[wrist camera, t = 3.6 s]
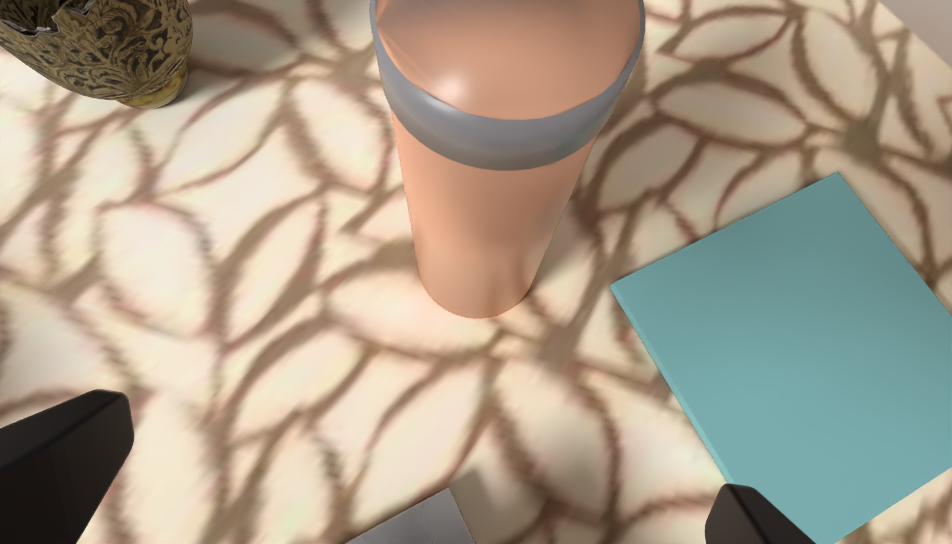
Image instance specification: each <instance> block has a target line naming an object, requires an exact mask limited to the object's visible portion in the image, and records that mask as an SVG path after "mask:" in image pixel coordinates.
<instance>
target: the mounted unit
mask: <svg viewBox="0 0 952 544" xmlns="http://www.w3.org/2000/svg"><path fill="white" fill-rule="evenodd" d="M344 544H475V543H474V541H473V539H472V536H471V534H470V532H469V530H468V528H467V526H466V523H465V521H464V519H463V517H462V515H461V513H460V510H459V508H458V506H457V504H456V502H455V499H454V497H453V495H452V493H451V491H450V489H449V487H448V488H446V489H444V490H442V491H440V492H438V493H436V494H435V495H433V496H431V497H429V498H427V499H425V500H423V501H422V502H420V503H418V504H416V505H414V506H412V507H411V508H409V509H407V510H405V511H403V512H401V513H399V514H398V515H396V516H394V517H392V518H390V519H388V520H386V521H385V522H383V523H381V524H379V525H377V526H375V527H374V528H372V529H370V530H368V531H366V532H364V533H362V534H361V535H359V536H357V537H355V538H353V539H351V540H349V541H348V542H346V543H344Z"/></svg>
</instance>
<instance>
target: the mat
mask: <svg viewBox="0 0 952 544" xmlns="http://www.w3.org/2000/svg"><path fill="white" fill-rule="evenodd" d="M610 289H611V291H612V292H613V294H614V296H615V297H616V299H617V301H618V302H619V304H620V306H621V307H622V309H623V311H624V312H625V314H626V316H627V317H628V319H629V321H630V322H631V324H632V326H633V327H634V329H635V330H636V332H637V334H638V335H639V337H640V339H641V340H642V342H643V344H644V345H645V347H646V349H647V350H648V352H649V354H650V355H651V357H652V359H653V360H654V362H655V364H656V365H657V367H658V369H659V370H660V372H661V373H662V375H663V377H664V378H665V380H666V382H667V383H668V385H669V387H670V388H671V390H672V392H673V393H674V395H675V397H676V398H677V400H678V402H679V403H680V405H681V407H682V408H683V410H684V412H685V413H686V415H687V416H688V418H689V420H690V421H691V423H692V425H693V426H694V428H695V430H696V431H697V433H698V435H699V436H700V438H701V440H702V441H703V443H704V445H705V446H706V448H707V450H708V451H709V453H710V455H711V456H712V458H713V460H714V461H715V463H716V464H717V466H718V468H719V469H720V471H721V473H722V474H723V476H724V478H725V479H726V481H727V483H731V484H738V485H745V486H750V487H753V488H755V489H756V490H757V491H759V492H760V493H761V494H762V495H763V496H764V497H765V498H766V499H767V500H769V501H770V502H771V503H772V504H773V505H774V506H775V507H776V508H777V509H779V510H780V511H781V512H782V513H783V514H784V515H785V516H786V517H787V518H788V519H790V520H791V521H792V522H793V523H794V524H795V525H796V526H797V527H798V528H800V529H801V530H802V531H803V532H804V533H805V534H806V535H807V536H808V537H810V538H811V539H812V540H813V541H814V542H815V543H816V544H834V543H836V542H837V541H839V540H840V539H842V538H843V537H845V536H846V535H848V534H849V533H851V532H852V531H854V530H855V529H857V528H859V527H860V526H862V525H863V524H865V523H866V522H868V521H869V520H871V519H872V518H874V517H875V516H877V515H878V514H880V513H881V512H883V511H885V510H886V509H888V508H889V507H891V506H892V505H894V504H895V503H897V502H898V501H900V500H901V499H903V498H904V497H906V496H908V495H909V494H911V493H912V492H914V491H915V490H917V489H918V488H920V487H921V486H923V485H924V484H926V483H927V482H929V481H930V480H932V479H934V478H935V477H937V476H938V475H940V474H941V473H943V472H944V471H946V470H947V469H949V468H950V467H952V316H951V315H950V314H949V312H948V311H947V310H946V308H945V307H944V306H943V305H942V303H941V302H940V301H939V300H938V298H937V297H936V296H935V294H934V293H933V292H932V291H931V289H930V288H929V287H928V286H927V284H926V283H925V282H924V281H923V279H922V278H921V277H920V275H919V274H918V273H917V272H916V270H915V269H914V268H913V267H912V265H911V264H910V263H909V261H908V260H907V259H906V258H905V256H904V255H903V254H902V253H901V251H900V250H899V249H898V247H897V246H896V245H895V244H894V242H893V241H892V240H891V239H890V237H889V236H888V235H887V233H886V232H885V231H884V230H883V228H882V227H881V226H880V225H879V223H878V222H877V221H876V220H875V218H874V217H873V216H872V214H871V213H870V212H869V211H868V209H867V208H866V207H865V206H864V204H863V203H862V202H861V200H860V199H859V198H858V197H857V195H856V194H855V193H854V192H853V190H852V189H851V188H850V186H849V185H848V184H847V183H846V181H845V180H844V179H843V178H842V176H841V175H840V174H839V172H836V173H834V174H832V175H830V176H828V177H826V178H824V179H822V180H820V181H818V182H816V183H814V184H812V185H810V186H808V187H806V188H804V189H802V190H800V191H798V192H796V193H794V194H792V195H790V196H788V197H785V198H783V199H781V200H779V201H777V202H775V203H773V204H771V205H769V206H767V207H765V208H763V209H761V210H759V211H757V212H755V213H753V214H751V215H749V216H747V217H745V218H743V219H741V220H739V221H737V222H735V223H733V224H731V225H729V226H727V227H725V228H723V229H721V230H719V231H717V232H715V233H713V234H711V235H709V236H707V237H705V238H703V239H701V240H699V241H697V242H695V243H693V244H691V245H689V246H687V247H685V248H683V249H681V250H679V251H677V252H675V253H673V254H671V255H669V256H666V257H664V258H662V259H660V260H658V261H656V262H654V263H652V264H650V265H648V266H646V267H644V268H642V269H640V270H638V271H636V272H634V273H632V274H630V275H628V276H626V277H624V278H622V279H620V280H618V281H616V282H614V283H613V284H612V285H611V286H610Z"/></svg>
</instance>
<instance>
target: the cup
mask: <svg viewBox="0 0 952 544" xmlns="http://www.w3.org/2000/svg"><path fill="white" fill-rule="evenodd" d="M192 35H193V32H192V18H191V13H190V8H189V4H188V1H187V0H0V46H1V47H3V48H4V49H6V50H7V51H8V52H10V53H11V54H12V55H14V56H15V57H16V58H18V59H19V60H20V61H22V62H23V63H25V64H26V65H28V66H29V67H30V68H32V69H33V70H35V71H36V72H38V73H39V74H41V75H42V76H44V77H46V78H47V79H49V80H50V81H52V82H54V83H56V84H58V85H60V86H62V87H64V88H66V89H68V90H70V91H73V92H75V93H78V94H81V95H84V96H87V97H92V98H98V99H105V100H116V101H118V102H120V103H122V104H124V105H127V106H130V107H133V108H137V109H153V108H158V107H161V106H164V105H166V104H168V103H170V102H171V101H173V100H174V99H175V98H176V97H177V96H178V95H179V94H180V93H181V92H182V90H183V89H184V87H185V84H186V82H187V75H188V70H187V62H186V59H187V57H188V54H189V51H190V47H191V43H192Z"/></svg>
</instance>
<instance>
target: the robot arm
mask: <svg viewBox="0 0 952 544" xmlns="http://www.w3.org/2000/svg"><path fill="white" fill-rule="evenodd" d="M133 443H134V429H133V422H132V416H131V410H130V403H129V399H128V397H127V396H126V395H125V394H124V393H122V392H117V391H110V390H103V389H96V390H92V391H90V392H87V393H85V394H82V395H80V396H77V397H75V398H73V399H70V400H68V401H65V402H63V403H61V404H58V405H56V406H53V407H51V408H48V409H46V410H44V411H41V412H39V413H36V414H34V415H32V416H29V417H27V418H24V419H22V420H19V421H17V422H15V423H12V424H10V425H7V426H5V427H3V428H0V544H76V543H77V541H78V540H79V538H80V537H81V535H82V533H83V532H84V530H85V528H86V527H87V525H88V523H89V521H90V520H91V518H92V516H93V515H94V513H95V511H96V510H97V508H98V506H99V504H100V503H101V501H102V499H103V498H104V496H105V494H106V492H107V491H108V489H109V487H110V486H111V484H112V482H113V480H114V479H115V477H116V475H117V474H118V472H119V470H120V469H121V467H122V465H123V463H124V462H125V460H126V458H127V457H128V455H129V453H130V451H131V449H132V446H133ZM705 539H706V544H816V543H815V542H814V541H813V540H812V539H811V538H810V537H808V536H807V535H806V534H805V533H804V532H803V531H802V530H801V529H800V528H798V527H797V526H796V525H795V524H794V523H793V522H792V521H791V520H790V519H788V518H787V517H786V516H785V515H784V514H783V513H782V512H781V511H780V510H779V509H777V508H776V507H775V506H774V505H773V504H772V503H771V502H770V501H769V500H767V499H766V498H765V497H764V496H763V495H762V494H761V493H760V492H759V491H757V490H756V489H755V488H753V487H750V486H745V485H738V484H731V483H728V484H724V485H723V486H722V487H721V489H720V490H719V493H718V495H717V497H716V500H715V502H714V504H713V506H712V509H711V511H710V513H709V516H708V518H707V521H706V525H705Z"/></svg>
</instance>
